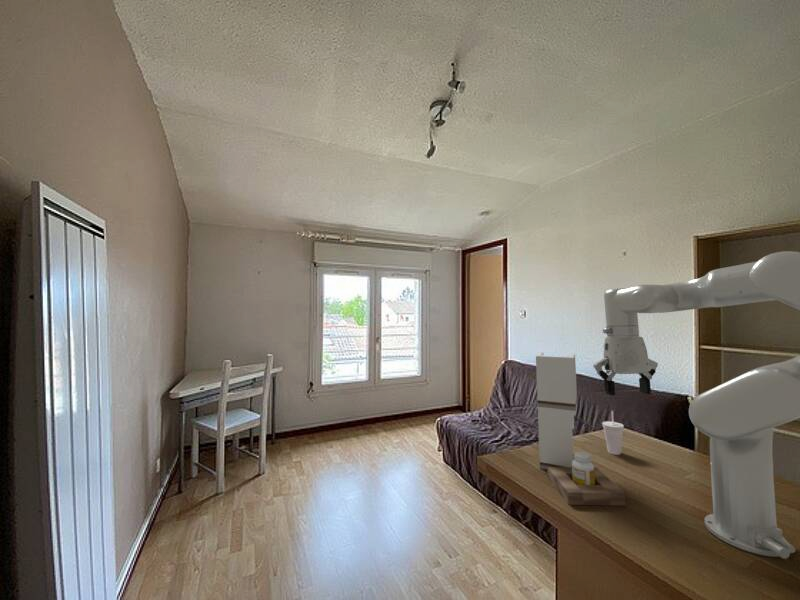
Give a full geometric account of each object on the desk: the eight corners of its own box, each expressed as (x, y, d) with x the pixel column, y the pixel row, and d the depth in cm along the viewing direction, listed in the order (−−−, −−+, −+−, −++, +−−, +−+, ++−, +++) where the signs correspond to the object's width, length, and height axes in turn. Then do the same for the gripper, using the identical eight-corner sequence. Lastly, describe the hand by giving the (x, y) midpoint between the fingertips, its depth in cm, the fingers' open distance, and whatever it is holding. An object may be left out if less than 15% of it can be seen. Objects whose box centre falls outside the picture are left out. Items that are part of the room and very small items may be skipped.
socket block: (625, 505, 83) (625, 493, 83) (568, 504, 84) (568, 492, 84) (596, 477, 97) (596, 467, 97) (547, 477, 98) (547, 466, 98)
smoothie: (625, 451, 115) (623, 410, 116) (625, 458, 110) (623, 415, 110) (603, 447, 119) (601, 407, 119) (603, 454, 113) (601, 412, 114)
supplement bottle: (589, 485, 93) (588, 450, 93) (599, 496, 88) (597, 458, 88) (569, 484, 94) (568, 449, 94) (577, 495, 88) (576, 458, 89)
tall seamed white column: (578, 476, 98) (573, 357, 100) (539, 468, 104) (535, 356, 105) (579, 461, 108) (575, 353, 110) (544, 454, 114) (540, 352, 115)
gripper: (599, 333, 90) (605, 398, 88) (663, 331, 90) (669, 395, 88) (584, 333, 97) (589, 392, 96) (643, 330, 97) (649, 390, 96)
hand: (627, 393), depth 92 cm, fingers open, 9 cm apart
